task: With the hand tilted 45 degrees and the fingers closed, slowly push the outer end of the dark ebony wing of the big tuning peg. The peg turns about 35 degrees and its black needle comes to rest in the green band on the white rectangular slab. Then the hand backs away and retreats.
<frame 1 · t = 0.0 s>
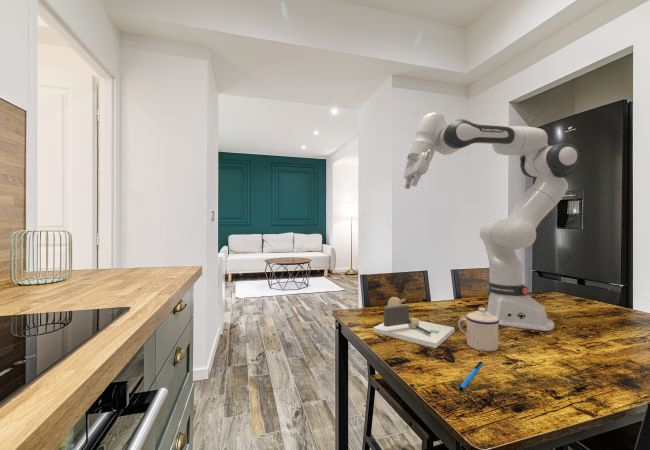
hand: (410, 187, 120), 52 cm above the table, tool tilted 20°, fingers open, 8 cm apart
pen: (471, 378, 76), on the table
tuning peg: (407, 320, 102), point 6 cm above the table, hinge at 0.0°
white rectangular slab: (413, 332, 107), on the table
decorative ornament: (395, 309, 136), on the table
teacup with lid: (477, 345, 96), on the table
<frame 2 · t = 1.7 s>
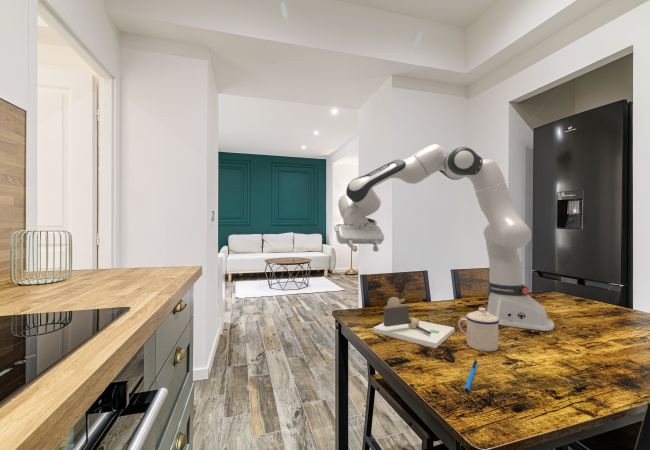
hand: (366, 250, 121), 27 cm above the table, tool tilted 45°, fingers open, 8 cm apart
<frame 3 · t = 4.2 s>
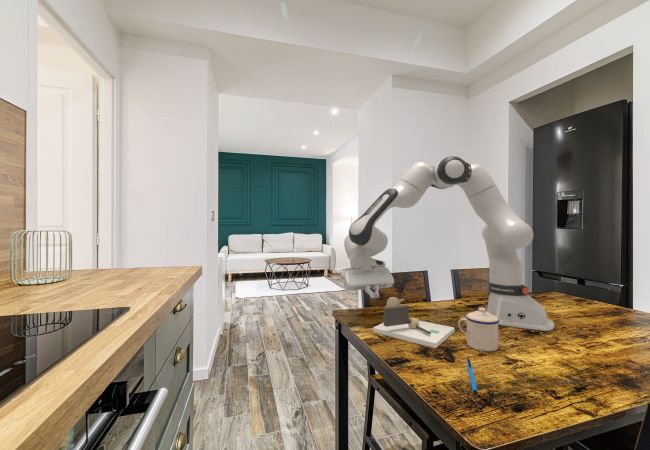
hand: (375, 297, 114), 10 cm above the table, tool tilted 45°, fingers closed
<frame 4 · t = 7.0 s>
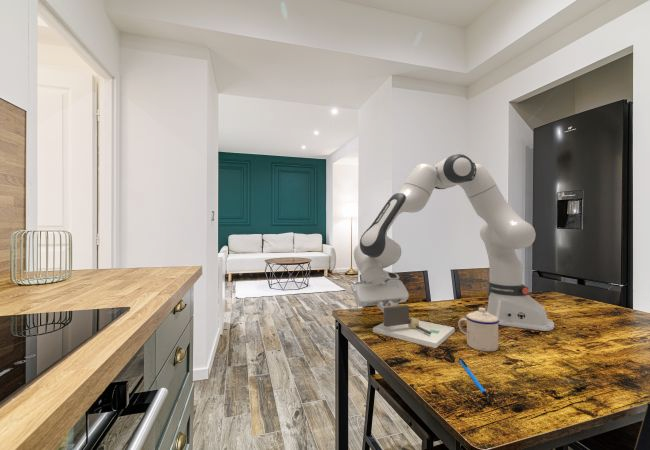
hand: (389, 314, 105), 7 cm above the table, tool tilted 45°, fingers closed, pressing on tuning peg
tuning peg: (407, 320, 102), point 6 cm above the table, hinge at 0.6°, touching gripper
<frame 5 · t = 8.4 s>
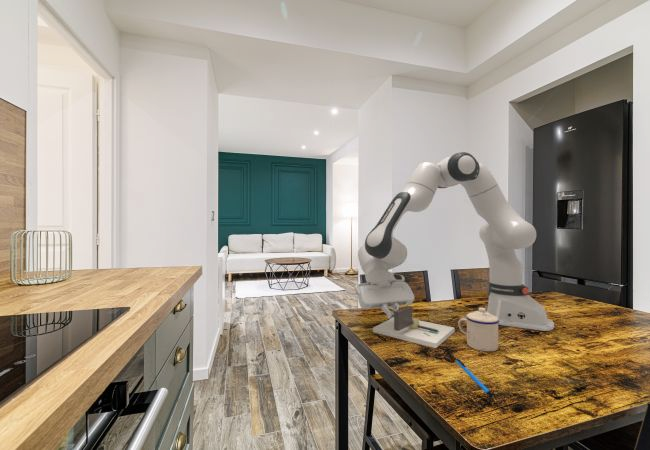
hand: (394, 317, 102), 7 cm above the table, tool tilted 45°, fingers closed
tuning peg: (415, 320, 101), point 6 cm above the table, hinge at 26.0°, touching gripper
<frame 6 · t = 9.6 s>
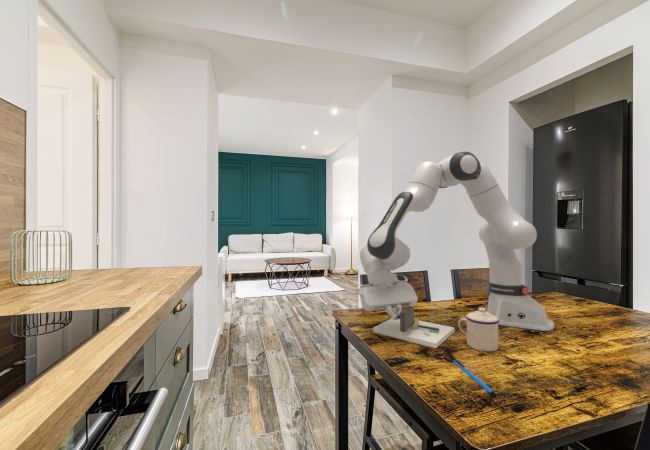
hand: (397, 319, 100), 7 cm above the table, tool tilted 45°, fingers closed
tuning peg: (419, 320, 101), point 6 cm above the table, hinge at 36.8°, touching gripper
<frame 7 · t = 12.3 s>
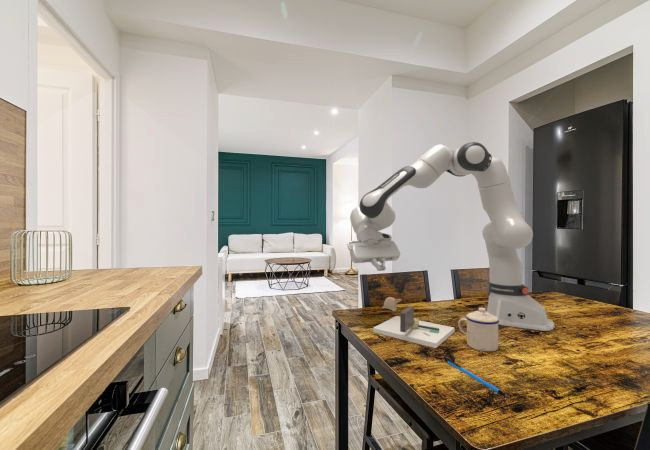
hand: (381, 269, 115), 21 cm above the table, tool tilted 40°, fingers closed
tuning peg: (419, 320, 101), point 6 cm above the table, hinge at 37.0°
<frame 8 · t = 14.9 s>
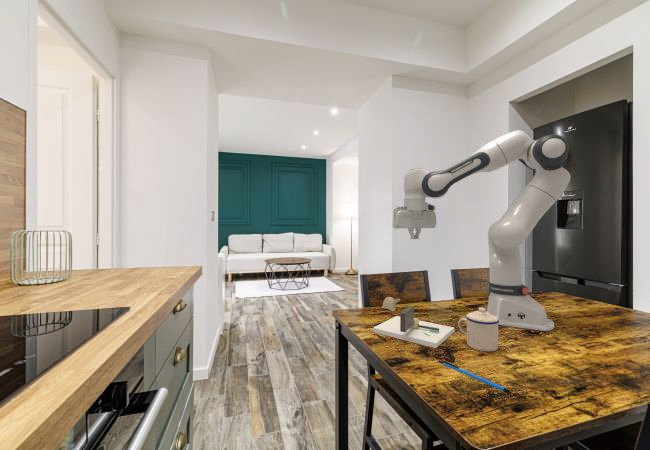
hand: (414, 239, 132), 31 cm above the table, tool pointing down, fingers closed
at the end: tuning peg at +37° (first picture: +0°); decorative ornament moved 2.4 cm from its start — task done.
